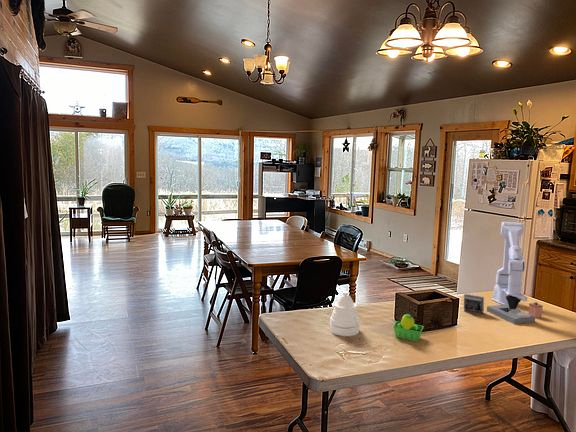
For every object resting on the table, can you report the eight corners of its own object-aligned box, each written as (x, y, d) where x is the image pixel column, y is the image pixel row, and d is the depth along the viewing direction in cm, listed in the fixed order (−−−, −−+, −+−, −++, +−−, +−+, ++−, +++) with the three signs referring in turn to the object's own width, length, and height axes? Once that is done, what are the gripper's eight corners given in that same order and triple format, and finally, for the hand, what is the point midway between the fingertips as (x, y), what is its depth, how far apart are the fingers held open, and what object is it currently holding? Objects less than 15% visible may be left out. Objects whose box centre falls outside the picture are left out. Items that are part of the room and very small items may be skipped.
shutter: (508, 313, 210) (509, 309, 210) (519, 312, 212) (520, 307, 212) (519, 318, 204) (519, 313, 204) (530, 317, 206) (530, 312, 205)
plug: (528, 315, 215) (529, 301, 214) (534, 314, 217) (536, 300, 216) (534, 318, 212) (536, 304, 211) (541, 317, 213) (542, 303, 212)
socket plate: (486, 310, 221) (487, 306, 220) (506, 309, 224) (506, 304, 223) (513, 324, 203) (514, 318, 203) (534, 321, 207) (535, 316, 206)
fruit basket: (423, 337, 187) (425, 311, 186) (418, 344, 179) (419, 318, 178) (397, 331, 193) (398, 306, 191) (391, 338, 185) (392, 312, 184)
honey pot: (358, 337, 186) (360, 296, 183) (328, 334, 188) (329, 294, 186) (359, 326, 198) (361, 287, 196) (331, 323, 201) (332, 285, 198)
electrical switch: (483, 312, 218) (484, 295, 216) (482, 316, 214) (482, 298, 212) (464, 308, 223) (464, 291, 221) (461, 312, 219) (462, 295, 217)
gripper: (496, 280, 216) (494, 306, 218) (519, 288, 202) (517, 317, 204) (508, 279, 218) (506, 305, 220) (532, 287, 204) (529, 315, 206)
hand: (512, 311), depth 212 cm, fingers closed
